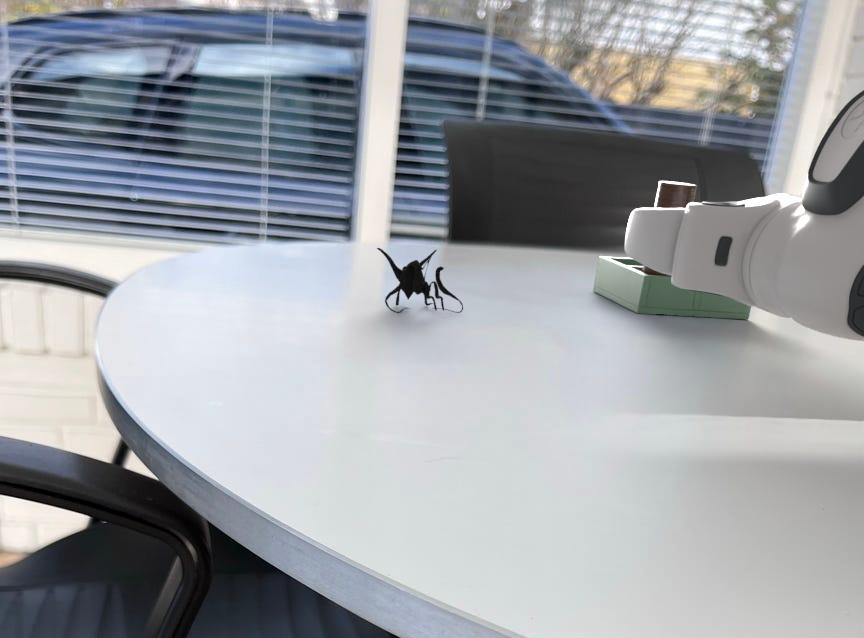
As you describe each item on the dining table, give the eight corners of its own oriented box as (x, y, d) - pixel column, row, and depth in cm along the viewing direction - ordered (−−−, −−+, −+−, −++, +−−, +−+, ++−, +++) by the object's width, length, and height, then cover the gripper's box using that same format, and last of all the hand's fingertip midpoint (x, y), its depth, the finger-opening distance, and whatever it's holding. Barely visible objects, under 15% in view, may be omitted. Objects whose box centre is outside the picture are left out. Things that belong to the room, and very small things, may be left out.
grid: (695, 297, 117) (702, 263, 115) (748, 319, 107) (757, 282, 105) (592, 290, 114) (598, 255, 113) (637, 313, 104) (644, 275, 102)
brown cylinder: (663, 298, 109) (687, 182, 104) (678, 305, 106) (703, 186, 101) (631, 296, 108) (653, 179, 103) (645, 303, 105) (669, 183, 100)
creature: (473, 328, 95) (435, 292, 101) (488, 270, 92) (447, 235, 97) (396, 329, 92) (360, 291, 97) (408, 269, 89) (370, 233, 94)
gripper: (907, 221, 86) (815, 203, 98) (676, 202, 82) (609, 185, 94) (883, 301, 89) (797, 274, 101) (659, 287, 85) (596, 259, 97)
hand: (704, 231), depth 97 cm, fingers open, 8 cm apart
